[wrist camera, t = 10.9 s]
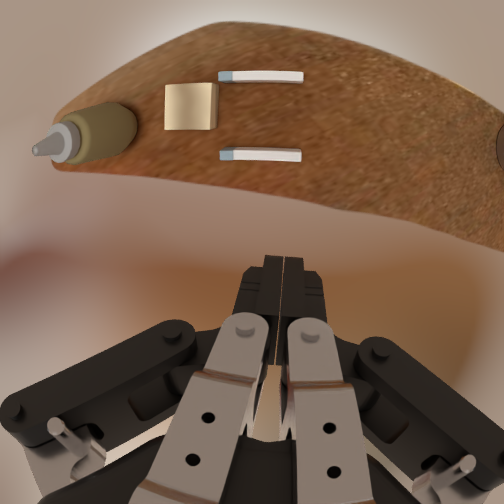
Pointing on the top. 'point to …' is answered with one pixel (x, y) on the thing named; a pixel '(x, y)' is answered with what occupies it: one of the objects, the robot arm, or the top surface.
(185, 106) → the maple block
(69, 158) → the squeeze bottle
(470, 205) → the top surface
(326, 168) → the top surface
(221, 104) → the top surface
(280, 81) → the corridor
